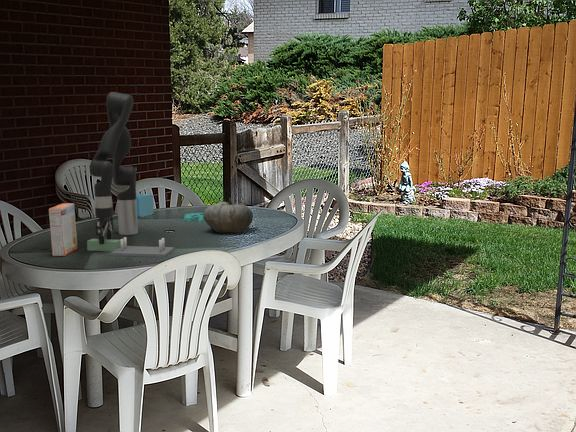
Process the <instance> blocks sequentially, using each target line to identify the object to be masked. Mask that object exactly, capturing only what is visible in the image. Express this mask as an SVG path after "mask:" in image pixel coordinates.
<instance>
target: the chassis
mask: <svg viewBox="0 0 576 432" xmlns="http://www.w3.org/2000/svg"><path fill="white" fill-rule="evenodd" d="M119 240H121V247H120V248H118V249H116V250H115V251H110V253H109V254H110V257H140V258H141V257H144V258H145V257H147V258H166V257H167V256H168V255H170V254H171V253H172V252H174V251H175V247H174V246H166V245H165V242H166V241H165V237H161V239H159V240H158V246H137V245H136V246H135V245H128V242H127V240H128V238H127V237H126V236H123V238H121V239H119Z"/></svg>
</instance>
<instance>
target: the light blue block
mask: <svg viewBox="0 0 576 432" xmlns="http://www.w3.org/2000/svg"><path fill="white" fill-rule="evenodd" d="M136 201H137V218H145V216H146V217H149V216H148V215H150V216H153V215H152V214H154V213H155V211H154V196H153V194H152V193H151V194H150V193H143V194H138V195H137V194H136Z"/></svg>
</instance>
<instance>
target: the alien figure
mask: <svg viewBox="0 0 576 432" xmlns="http://www.w3.org/2000/svg"><path fill="white" fill-rule="evenodd" d="M203 213H204V212H191V213H185V214H184V216H183V221H184V220H187V221H186V222H192V221H191V220H194V221H197V223H198V222H200V223H199V224H203V223H202V222H204V223H205V219H204V216H203ZM196 219H198V220H196Z"/></svg>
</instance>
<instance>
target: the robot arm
mask: <svg viewBox="0 0 576 432" xmlns="http://www.w3.org/2000/svg"><path fill="white" fill-rule="evenodd" d="M105 102H106V105H105V106H106V111H107V117H108V122H109V129H108V130H107V131H105V132H104V134H103V136H102V137H101V140H100V143H99V146H98V147H99V148H98V150H97V152H96V153H95V155H94V156H93V158H92V160H91V161H90V164H89V173H90V175H91V176H93V177H97V178H98V177H100V181H99V182H96V183H95V184H94V213H95V215H94V216H95V218H97V219H98V221H95V236H98V239H99V244H101V245H103V244H104V239H105V234H106V239H113V236H112V234H113V231H114V227H115V226H114V225H115V224H114V218H113V216H114V209H113V198H112V184H114V185H115V186H118V187H119V186H121V187H122V186H129V187H127V189H125V190H122V191H121V192H118V193H117V194H116V199H117V201H116V202H117V219H118V220H117V221H118V222H117V223H118V234H119V235H121V236H131V235H132V236H133V235H137V234H138V233H139V229H138V228H139V227H138V226H139V225H138V217H137V201H136V196H137V172H136V168H135V167H134V166H121V164H122V162H123V160H124V159H125V157H127V155H128V154H129V152H130V151H131V149H132V138H131V137H132V136H131V132H130V131H129V130H128V129H129V128H127V127H126V125H127V123H128V121H129V118H130V116H131V114H132V111H133V107H134V98H133V96H132V95H131V94H127V93H122V92H117V91H110V92H109V93H107V97H106V101H105ZM111 158H112V162H111V161H110V160H109V161H108V159H111Z"/></svg>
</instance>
